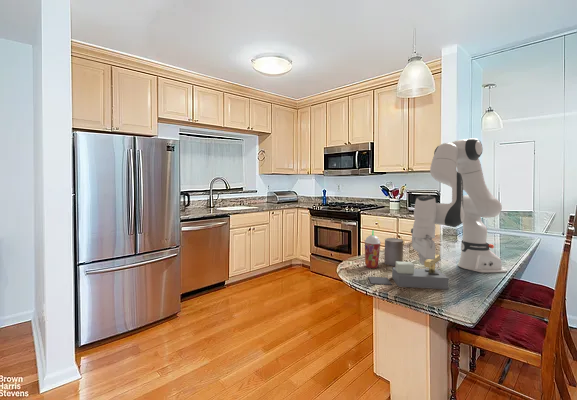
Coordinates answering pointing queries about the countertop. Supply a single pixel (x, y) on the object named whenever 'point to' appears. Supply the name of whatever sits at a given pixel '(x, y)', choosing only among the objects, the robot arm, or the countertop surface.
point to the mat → (379, 280)
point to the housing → (421, 279)
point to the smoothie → (372, 251)
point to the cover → (404, 267)
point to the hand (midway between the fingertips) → (422, 263)
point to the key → (432, 263)
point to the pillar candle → (393, 251)
